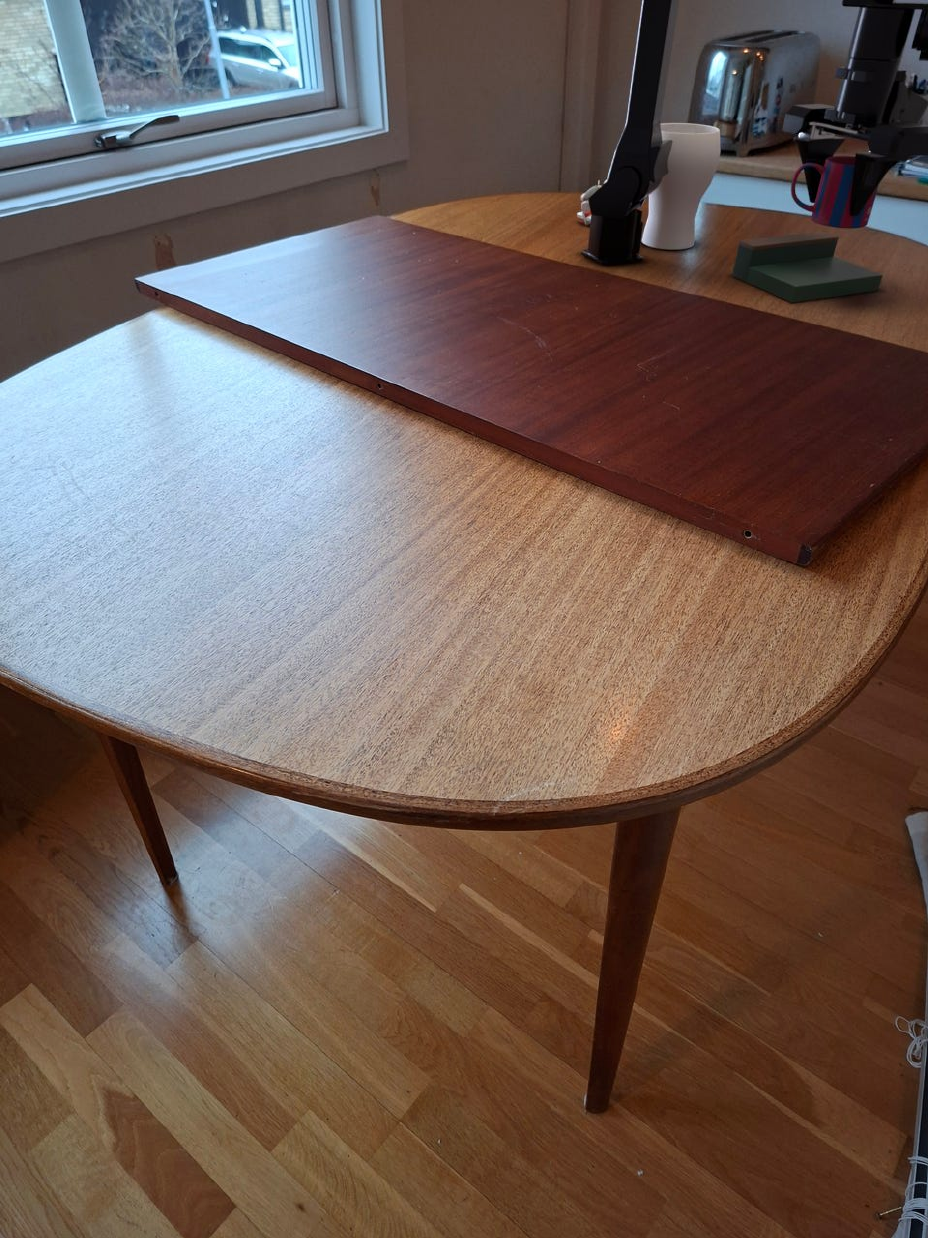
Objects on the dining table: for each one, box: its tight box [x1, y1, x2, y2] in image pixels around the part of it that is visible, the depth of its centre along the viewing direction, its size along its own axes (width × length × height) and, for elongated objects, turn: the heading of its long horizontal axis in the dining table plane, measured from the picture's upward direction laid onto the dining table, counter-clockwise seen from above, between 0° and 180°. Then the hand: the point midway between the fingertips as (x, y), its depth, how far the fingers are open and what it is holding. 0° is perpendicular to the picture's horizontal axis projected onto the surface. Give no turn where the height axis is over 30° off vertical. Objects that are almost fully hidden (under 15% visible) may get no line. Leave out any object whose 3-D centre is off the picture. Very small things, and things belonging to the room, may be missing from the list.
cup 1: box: [641, 122, 722, 251], centre depth 122 cm, size 11×11×15 cm
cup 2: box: [790, 155, 880, 230], centre depth 104 cm, size 7×10×7 cm
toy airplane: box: [576, 179, 607, 226], centre depth 133 cm, size 9×9×6 cm
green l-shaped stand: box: [732, 230, 883, 304], centre depth 110 cm, size 14×12×4 cm
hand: (833, 208), depth 105 cm, fingers closed on cup 2, 7 cm apart
